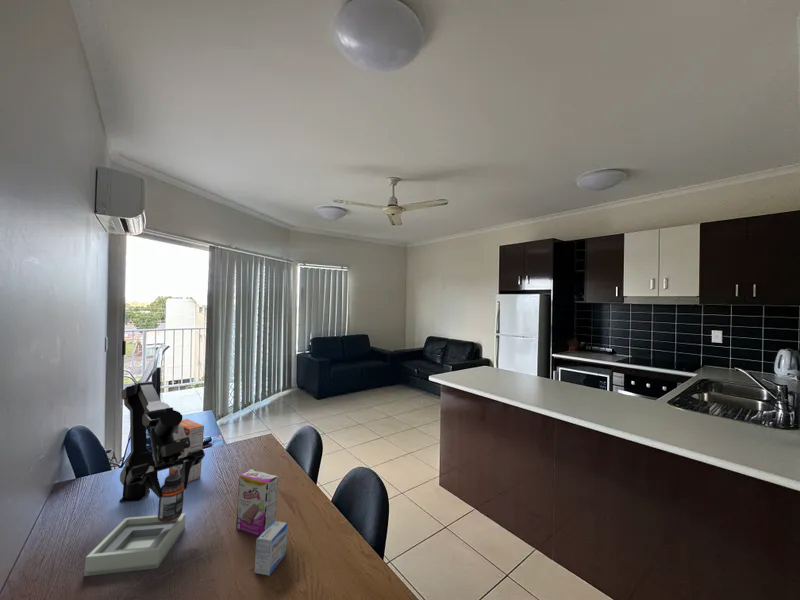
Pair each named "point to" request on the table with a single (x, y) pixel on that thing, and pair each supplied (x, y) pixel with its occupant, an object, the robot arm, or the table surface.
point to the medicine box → (270, 548)
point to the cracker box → (196, 442)
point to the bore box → (135, 545)
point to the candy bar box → (256, 501)
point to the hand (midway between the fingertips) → (173, 493)
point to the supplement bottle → (171, 498)
